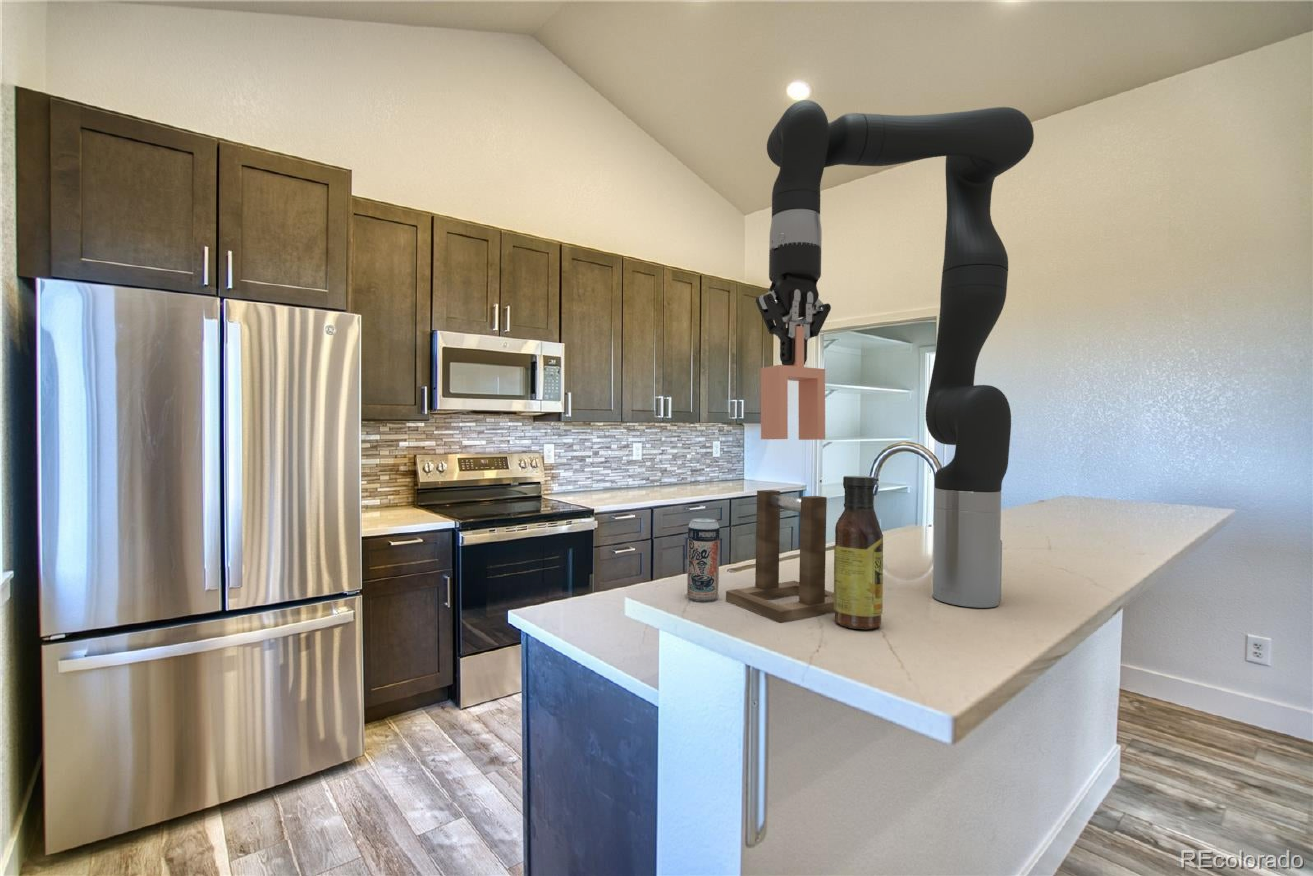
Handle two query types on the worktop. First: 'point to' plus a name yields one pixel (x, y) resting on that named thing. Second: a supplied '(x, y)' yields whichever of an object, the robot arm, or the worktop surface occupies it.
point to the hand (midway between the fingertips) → (793, 365)
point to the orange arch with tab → (777, 397)
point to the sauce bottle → (858, 558)
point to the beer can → (703, 559)
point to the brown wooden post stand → (767, 561)
